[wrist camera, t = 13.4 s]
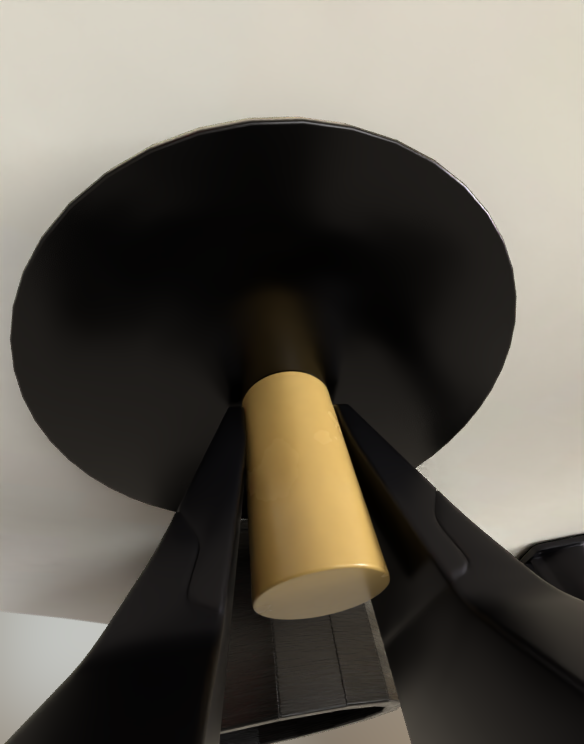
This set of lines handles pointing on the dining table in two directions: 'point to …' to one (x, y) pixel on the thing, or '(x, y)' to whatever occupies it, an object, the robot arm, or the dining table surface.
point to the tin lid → (266, 331)
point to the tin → (300, 669)
